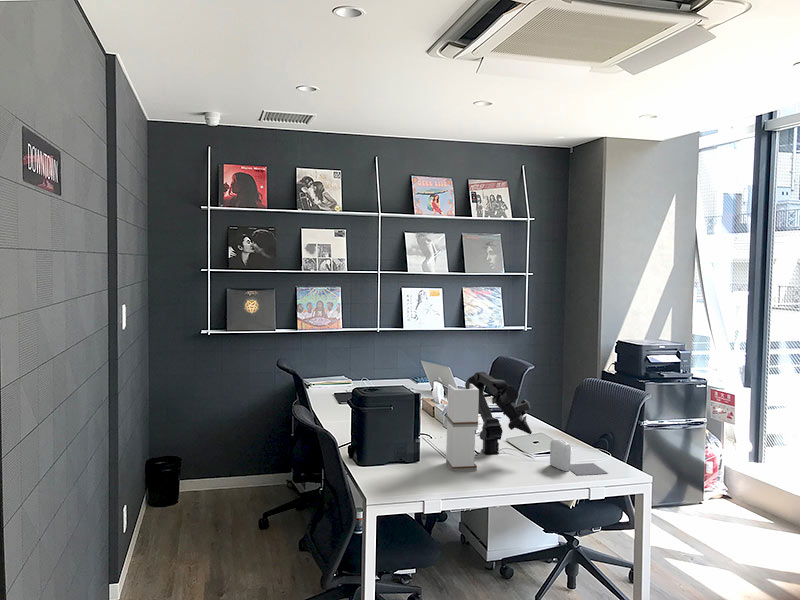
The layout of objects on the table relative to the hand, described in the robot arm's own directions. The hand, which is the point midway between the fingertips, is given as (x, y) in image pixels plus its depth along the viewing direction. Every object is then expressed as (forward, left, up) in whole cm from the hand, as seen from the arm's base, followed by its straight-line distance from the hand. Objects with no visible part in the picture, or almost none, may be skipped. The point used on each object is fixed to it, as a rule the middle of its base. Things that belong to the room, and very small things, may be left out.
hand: (531, 433), depth 296 cm
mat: (+20, -12, -13) cm, 27 cm away
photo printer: (+10, -8, -13) cm, 19 cm away
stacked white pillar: (-32, 0, -13) cm, 34 cm away
